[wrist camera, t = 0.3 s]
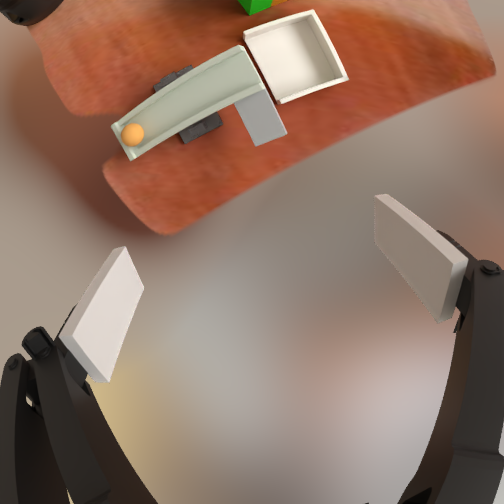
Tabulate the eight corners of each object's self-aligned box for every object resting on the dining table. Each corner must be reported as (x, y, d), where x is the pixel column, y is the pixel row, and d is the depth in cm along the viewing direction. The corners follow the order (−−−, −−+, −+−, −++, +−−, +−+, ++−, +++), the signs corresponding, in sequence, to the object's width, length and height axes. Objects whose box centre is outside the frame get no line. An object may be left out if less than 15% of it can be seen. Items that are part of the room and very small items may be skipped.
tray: (242, 37, 30) (243, 31, 27) (307, 16, 28) (313, 9, 25) (277, 104, 35) (281, 103, 32) (340, 81, 33) (348, 79, 30)
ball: (129, 126, 34) (112, 134, 32) (141, 116, 32) (124, 123, 30) (139, 144, 35) (123, 153, 33) (152, 135, 33) (136, 144, 31)
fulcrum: (185, 143, 37) (179, 148, 33) (154, 86, 33) (144, 84, 29) (223, 124, 36) (221, 126, 32) (191, 65, 32) (186, 60, 28)
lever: (161, 188, 40) (151, 196, 37) (122, 121, 34) (110, 126, 32) (287, 132, 31) (284, 137, 29) (243, 46, 26) (237, 44, 24)
